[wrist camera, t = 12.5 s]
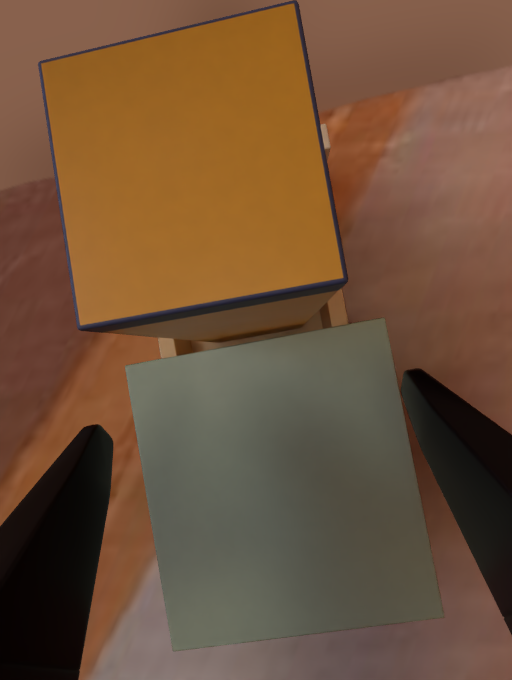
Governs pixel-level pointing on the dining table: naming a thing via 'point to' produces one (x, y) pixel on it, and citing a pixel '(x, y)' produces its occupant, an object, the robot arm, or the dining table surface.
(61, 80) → the carton
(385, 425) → the cabinet
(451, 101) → the dining table surface
